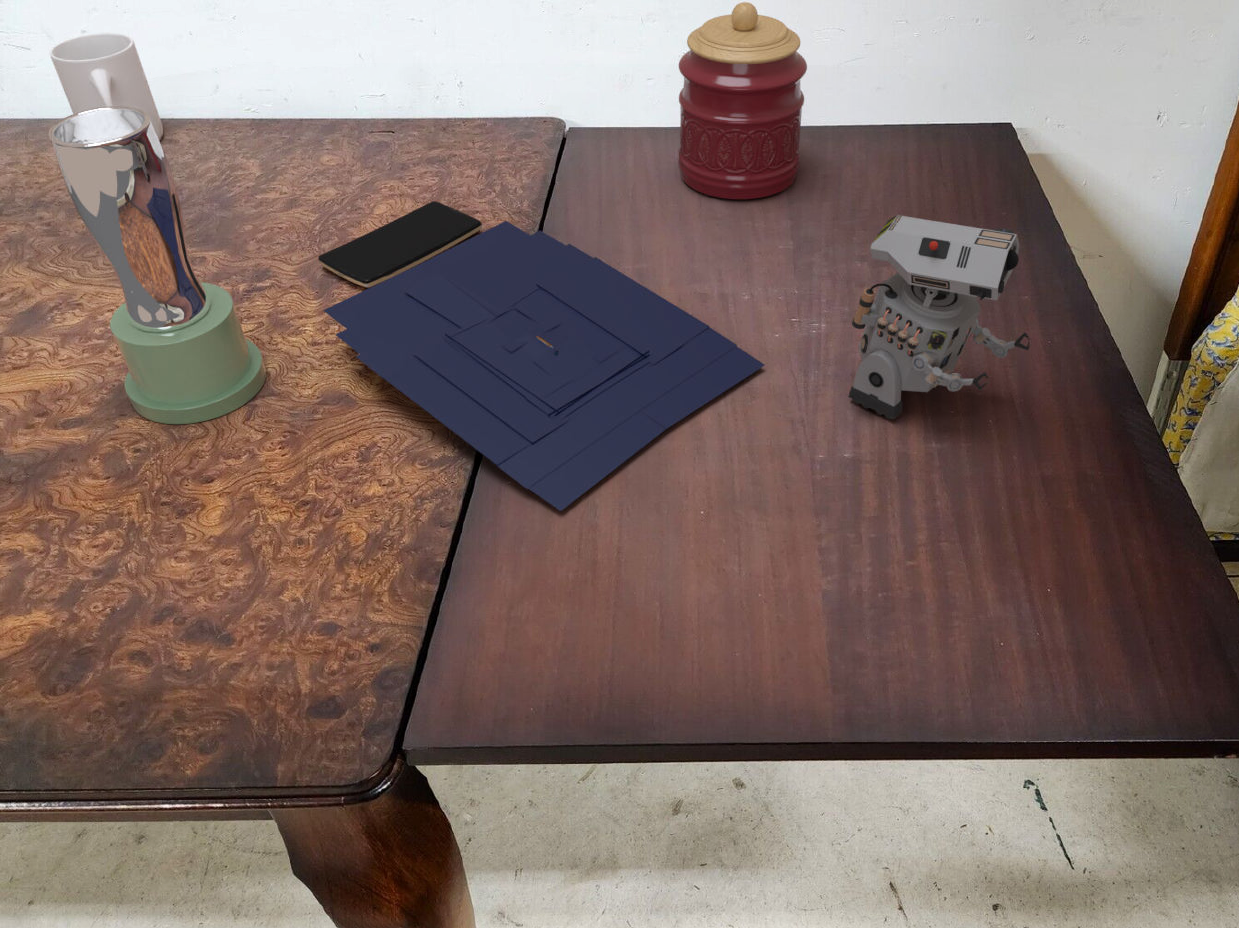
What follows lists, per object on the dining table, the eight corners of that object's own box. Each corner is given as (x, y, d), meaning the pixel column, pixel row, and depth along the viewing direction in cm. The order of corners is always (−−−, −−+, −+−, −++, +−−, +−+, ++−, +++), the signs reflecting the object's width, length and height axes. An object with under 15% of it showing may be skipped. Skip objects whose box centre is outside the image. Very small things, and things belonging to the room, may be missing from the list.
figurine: (955, 454, 80) (996, 281, 70) (832, 394, 86) (852, 225, 76) (1015, 400, 85) (1061, 230, 75) (894, 346, 91) (921, 181, 81)
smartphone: (314, 257, 101) (434, 199, 109) (317, 267, 102) (436, 209, 110) (363, 282, 97) (484, 220, 106) (366, 293, 98) (485, 231, 106)
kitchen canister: (733, 138, 122) (739, -27, 110) (822, 173, 115) (839, 1, 103) (653, 176, 115) (650, 4, 103) (744, 214, 109) (751, 36, 97)
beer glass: (121, 299, 85) (44, 114, 75) (212, 280, 87) (149, 98, 77) (126, 344, 80) (44, 153, 70) (221, 323, 82) (156, 135, 72)
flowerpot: (119, 432, 84) (85, 358, 79) (142, 355, 91) (112, 284, 87) (261, 415, 85) (236, 341, 80) (271, 340, 93) (249, 269, 88)
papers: (521, 238, 103) (520, 204, 100) (762, 388, 91) (769, 355, 88) (309, 345, 90) (301, 310, 87) (557, 538, 77) (557, 504, 75)
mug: (89, 175, 117) (50, 77, 110) (85, 133, 125) (48, 39, 118) (171, 160, 120) (138, 63, 112) (162, 120, 128) (130, 27, 120)
